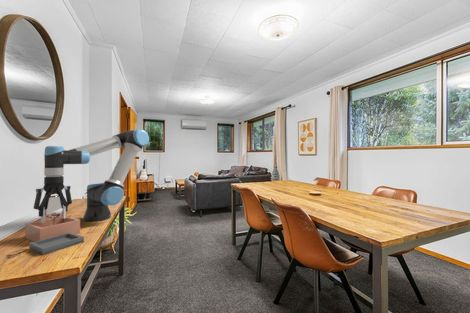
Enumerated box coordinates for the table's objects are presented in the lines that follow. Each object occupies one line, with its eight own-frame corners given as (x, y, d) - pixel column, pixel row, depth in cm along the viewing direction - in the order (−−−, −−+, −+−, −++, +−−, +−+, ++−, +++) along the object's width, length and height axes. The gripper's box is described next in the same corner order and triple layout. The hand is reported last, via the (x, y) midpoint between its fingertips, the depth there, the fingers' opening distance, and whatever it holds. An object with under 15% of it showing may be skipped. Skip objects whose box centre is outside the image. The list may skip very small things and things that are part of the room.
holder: (64, 228, 117) (64, 215, 117) (80, 233, 110) (80, 219, 110) (25, 237, 103) (25, 223, 103) (39, 244, 95) (40, 228, 95)
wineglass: (67, 233, 109) (67, 195, 109) (49, 239, 101) (49, 198, 102) (57, 231, 111) (57, 194, 111) (39, 237, 104) (39, 197, 104)
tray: (69, 237, 104) (69, 232, 104) (83, 242, 98) (83, 236, 98) (29, 248, 90) (29, 243, 90) (42, 255, 84) (42, 249, 84)
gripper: (73, 174, 118) (73, 214, 117) (23, 177, 99) (23, 224, 99) (80, 174, 114) (80, 216, 114) (30, 177, 96) (29, 227, 96)
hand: (53, 220), depth 106 cm, fingers closed on wineglass, 8 cm apart
